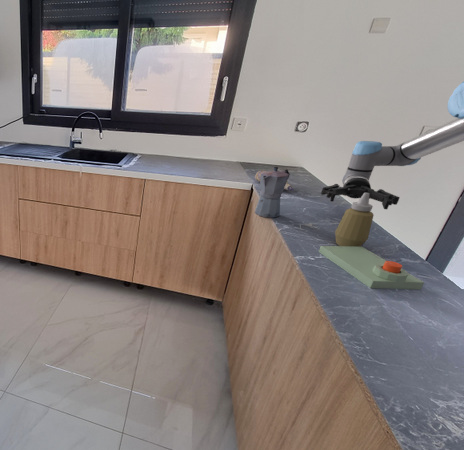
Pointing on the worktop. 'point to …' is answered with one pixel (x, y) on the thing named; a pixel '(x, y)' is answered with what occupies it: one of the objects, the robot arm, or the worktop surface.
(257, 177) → the decorative bottle
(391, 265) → the switch
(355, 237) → the squeeze bottle
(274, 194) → the moka pot
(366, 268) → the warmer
